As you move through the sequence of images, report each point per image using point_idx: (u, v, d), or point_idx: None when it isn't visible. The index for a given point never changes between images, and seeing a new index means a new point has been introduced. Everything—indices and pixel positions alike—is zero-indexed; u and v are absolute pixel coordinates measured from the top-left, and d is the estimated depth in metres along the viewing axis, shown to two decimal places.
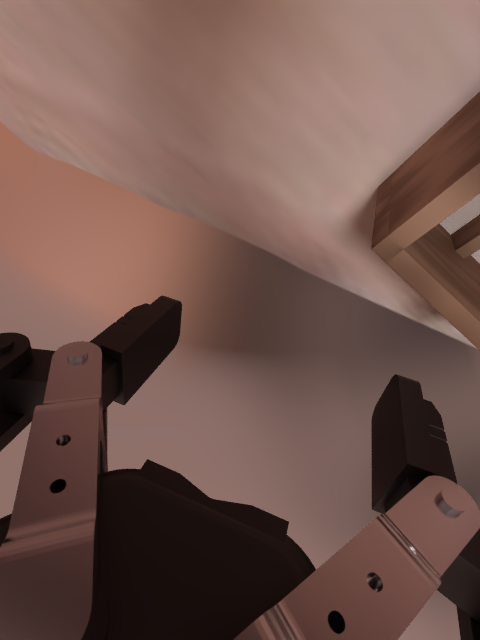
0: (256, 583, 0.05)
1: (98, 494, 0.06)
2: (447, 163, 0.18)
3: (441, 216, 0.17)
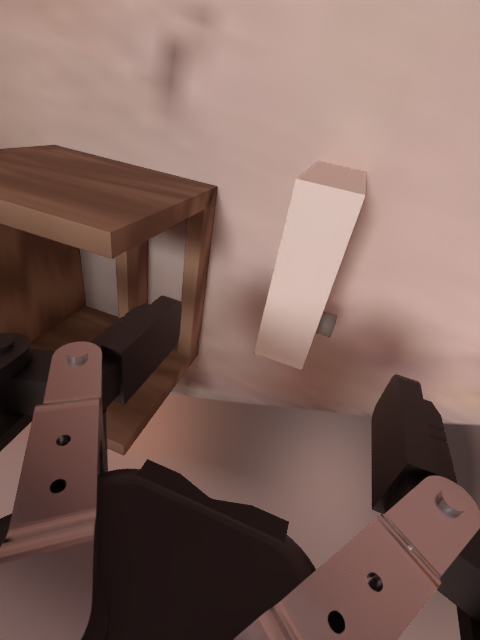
0: (256, 583, 0.05)
1: (98, 494, 0.06)
2: None
3: None
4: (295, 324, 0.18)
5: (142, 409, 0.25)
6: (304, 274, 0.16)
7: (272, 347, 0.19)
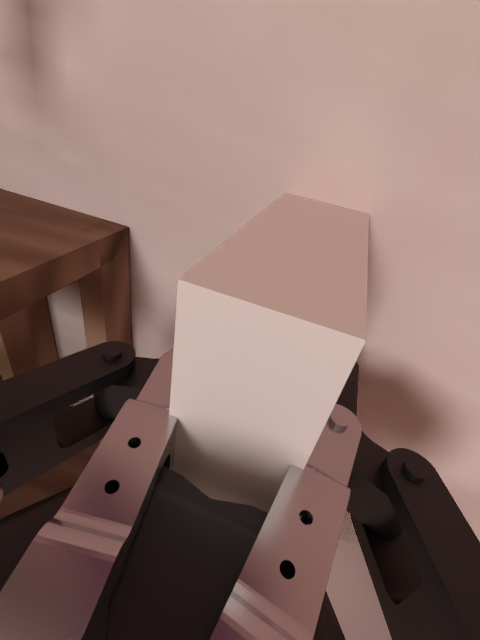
0: None
1: (142, 511, 0.06)
2: None
3: None
4: None
5: None
6: (229, 465, 0.07)
7: None
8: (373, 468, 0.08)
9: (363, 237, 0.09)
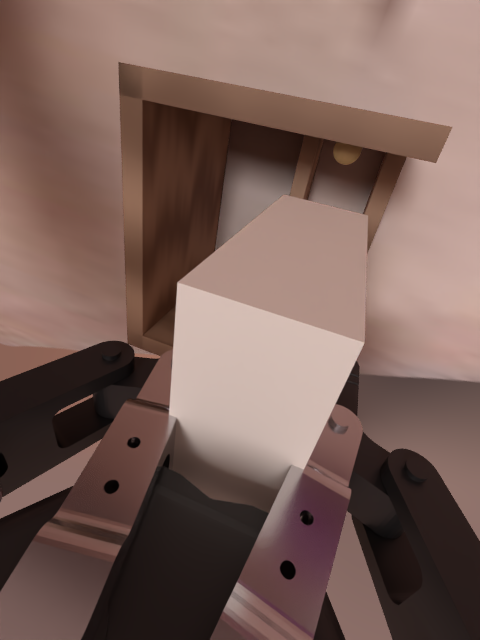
0: None
1: (142, 511, 0.06)
2: None
3: (139, 305, 0.21)
4: None
5: None
6: (229, 467, 0.07)
7: None
8: (374, 468, 0.08)
9: (362, 238, 0.09)
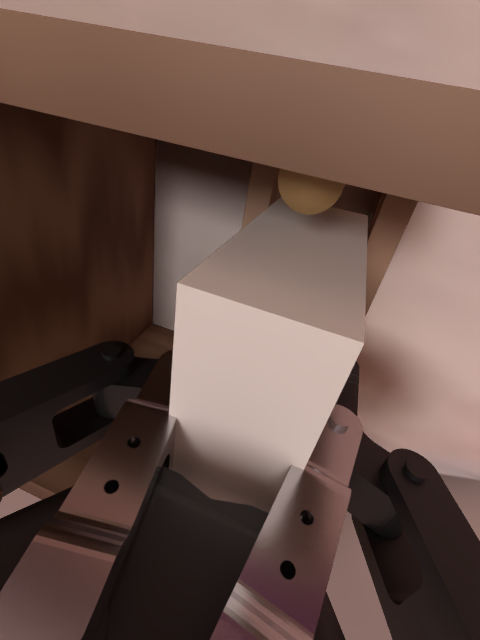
0: None
1: (142, 511, 0.06)
2: None
3: None
4: None
5: None
6: (229, 467, 0.07)
7: None
8: (374, 468, 0.08)
9: (362, 239, 0.09)
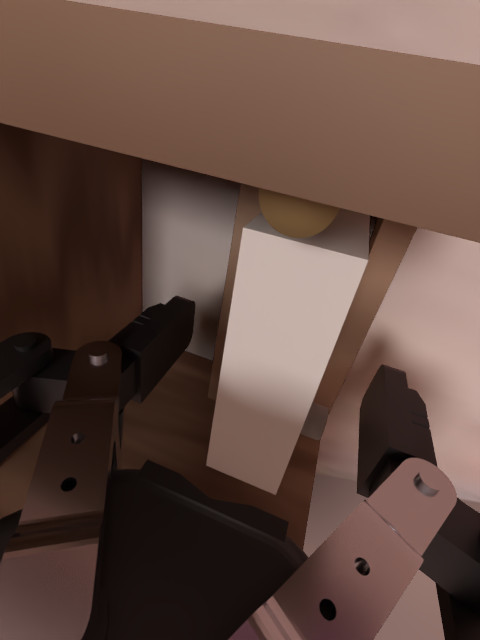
0: (256, 583, 0.05)
1: (107, 495, 0.06)
2: None
3: None
4: (261, 438, 0.11)
5: None
6: (269, 374, 0.10)
7: (231, 461, 0.13)
8: (473, 539, 0.07)
9: None
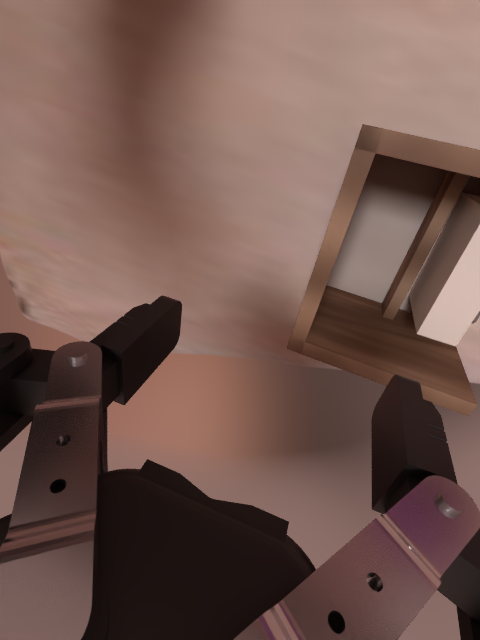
0: (256, 583, 0.05)
1: (98, 494, 0.06)
2: None
3: (311, 316, 0.25)
4: (459, 311, 0.25)
5: (460, 376, 0.26)
6: (477, 274, 0.23)
7: (434, 328, 0.26)
8: None
9: None
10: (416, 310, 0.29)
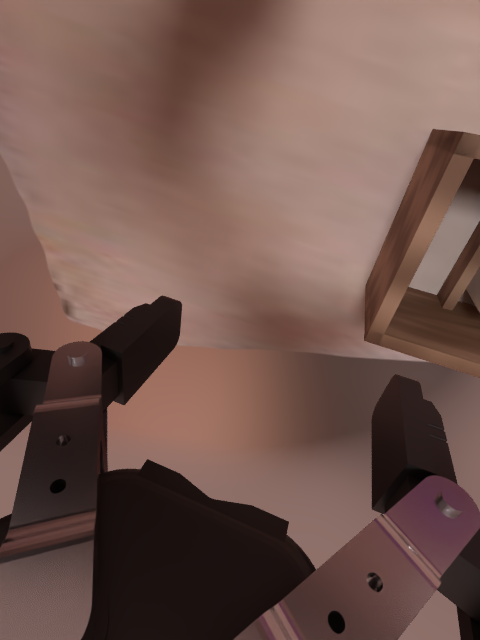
0: (256, 583, 0.05)
1: (98, 494, 0.06)
2: (386, 274, 0.29)
3: (392, 309, 0.26)
4: None
5: None
6: None
7: None
8: None
9: None
10: (479, 301, 0.31)
